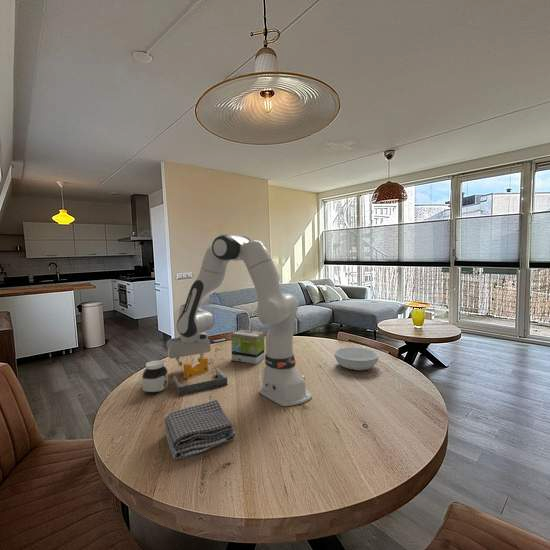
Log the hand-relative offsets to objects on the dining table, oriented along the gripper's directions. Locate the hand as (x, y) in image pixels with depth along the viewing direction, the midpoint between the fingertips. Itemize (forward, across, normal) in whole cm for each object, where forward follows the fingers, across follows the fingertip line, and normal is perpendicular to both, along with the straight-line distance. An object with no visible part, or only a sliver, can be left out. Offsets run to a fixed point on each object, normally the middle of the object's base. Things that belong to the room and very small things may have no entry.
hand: (190, 363), depth 146 cm
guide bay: (+2, 0, -20) cm, 20 cm away
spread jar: (+3, -18, -15) cm, 24 cm away
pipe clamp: (+3, +1, -8) cm, 8 cm away
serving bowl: (+3, +72, -39) cm, 82 cm away
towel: (+3, -10, -58) cm, 59 cm away
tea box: (+3, +30, -3) cm, 30 cm away
